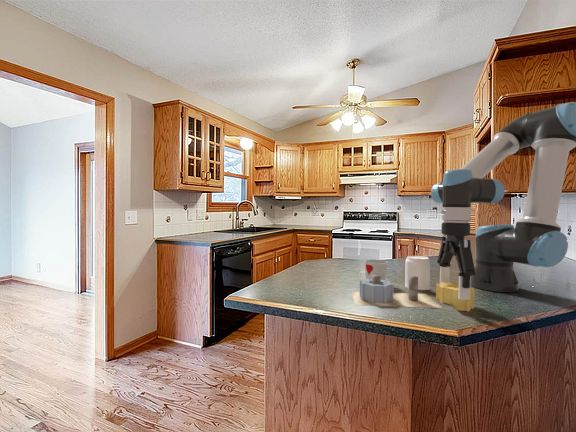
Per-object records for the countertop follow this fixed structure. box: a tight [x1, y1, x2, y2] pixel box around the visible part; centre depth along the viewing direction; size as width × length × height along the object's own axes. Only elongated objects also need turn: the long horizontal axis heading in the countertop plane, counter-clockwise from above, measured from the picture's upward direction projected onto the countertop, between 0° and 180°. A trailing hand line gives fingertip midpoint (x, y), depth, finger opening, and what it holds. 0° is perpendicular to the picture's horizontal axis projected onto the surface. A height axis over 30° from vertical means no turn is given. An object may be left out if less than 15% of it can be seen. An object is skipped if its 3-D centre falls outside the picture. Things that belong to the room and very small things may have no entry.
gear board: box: [350, 275, 443, 309], centre depth 94 cm, size 24×14×8 cm, turn 84°
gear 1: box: [359, 278, 395, 303], centre depth 95 cm, size 10×10×5 cm
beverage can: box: [404, 255, 431, 291], centre depth 109 cm, size 8×8×12 cm
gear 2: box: [435, 282, 475, 312], centre depth 93 cm, size 10×10×6 cm
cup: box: [364, 259, 389, 281], centre depth 112 cm, size 8×8×10 cm
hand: (453, 292), depth 92 cm, fingers open, 13 cm apart
